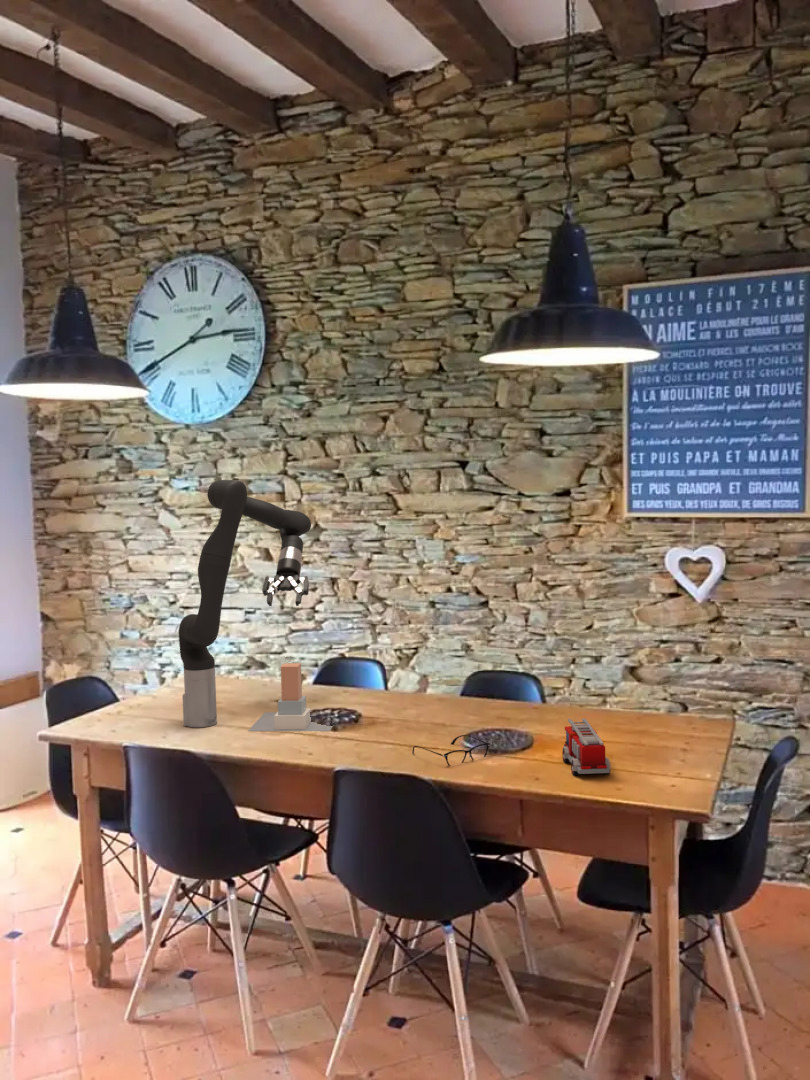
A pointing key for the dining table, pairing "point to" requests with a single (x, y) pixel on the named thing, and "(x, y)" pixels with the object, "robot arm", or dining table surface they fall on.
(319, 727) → the baseplate
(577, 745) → the toy fire truck
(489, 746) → the eyeglasses
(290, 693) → the terracotta brick
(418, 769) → the dining table surface
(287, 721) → the tower base
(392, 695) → the dining table surface
